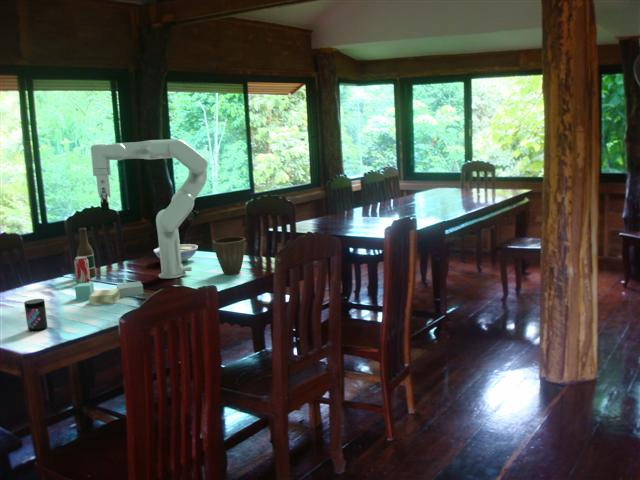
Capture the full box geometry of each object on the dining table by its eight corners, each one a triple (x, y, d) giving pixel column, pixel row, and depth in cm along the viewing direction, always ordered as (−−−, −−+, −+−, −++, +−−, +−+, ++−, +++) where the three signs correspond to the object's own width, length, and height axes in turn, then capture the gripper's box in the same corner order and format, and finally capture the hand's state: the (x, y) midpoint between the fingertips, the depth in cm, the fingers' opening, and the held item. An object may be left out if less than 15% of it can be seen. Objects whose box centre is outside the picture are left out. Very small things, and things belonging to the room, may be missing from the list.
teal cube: (94, 296, 291) (93, 282, 290) (91, 299, 285) (89, 285, 284) (80, 297, 291) (78, 283, 290) (76, 300, 285) (74, 286, 284)
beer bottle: (80, 279, 326) (74, 230, 321) (78, 276, 332) (72, 228, 328) (97, 277, 329) (92, 228, 325) (94, 274, 336) (89, 226, 332)
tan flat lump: (120, 298, 286) (119, 288, 285) (115, 304, 276) (113, 294, 276) (96, 299, 286) (95, 290, 285) (89, 306, 276) (88, 296, 275)
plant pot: (227, 278, 309) (224, 243, 307) (209, 274, 321) (206, 240, 318) (254, 272, 319) (251, 238, 316) (235, 268, 330) (233, 235, 327)
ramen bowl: (194, 265, 343) (192, 249, 341) (149, 268, 343) (147, 252, 342) (203, 256, 367) (202, 241, 366) (161, 258, 368) (159, 243, 366)
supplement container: (25, 329, 246) (21, 301, 244) (44, 325, 250) (40, 297, 248) (31, 333, 241) (27, 304, 239) (50, 328, 245) (47, 300, 243)
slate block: (141, 289, 299) (140, 281, 298) (143, 294, 290) (142, 285, 289) (117, 293, 295) (116, 284, 295) (119, 298, 286) (118, 288, 286)
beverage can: (86, 284, 315) (83, 258, 313) (74, 284, 317) (70, 258, 315) (93, 280, 321) (90, 255, 319) (81, 281, 323) (78, 256, 321)
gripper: (111, 172, 298) (114, 211, 301) (109, 170, 315) (113, 207, 317) (93, 173, 296) (96, 213, 299) (92, 171, 312) (96, 209, 315)
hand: (105, 210), depth 308 cm, fingers open, 9 cm apart
